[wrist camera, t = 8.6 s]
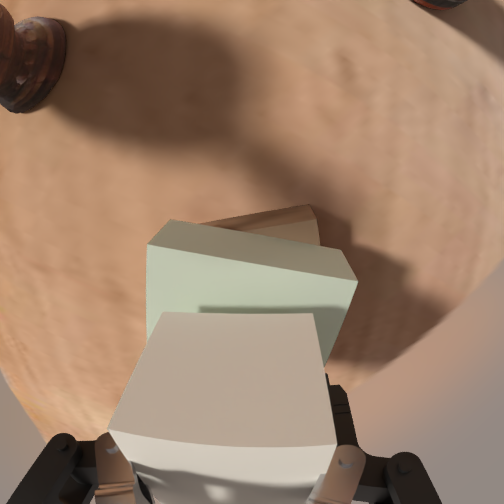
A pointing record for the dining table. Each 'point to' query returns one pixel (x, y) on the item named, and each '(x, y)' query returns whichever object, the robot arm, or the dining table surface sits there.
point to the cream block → (228, 410)
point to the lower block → (277, 224)
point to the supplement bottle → (440, 3)
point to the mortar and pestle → (28, 60)
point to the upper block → (246, 277)
